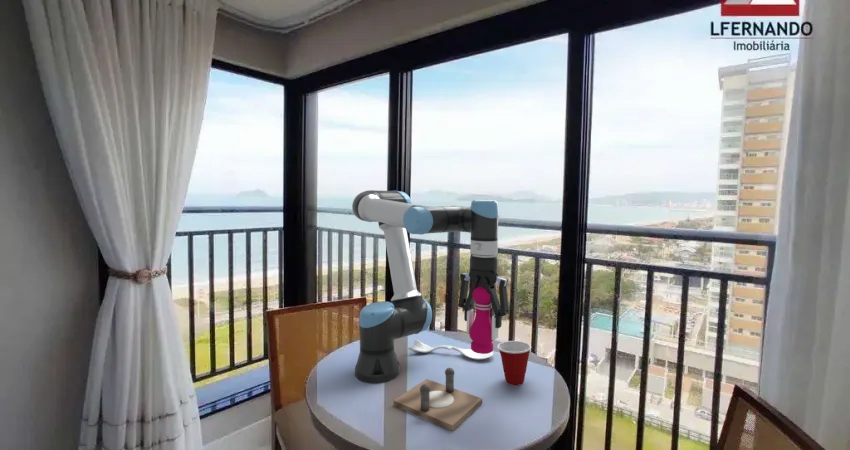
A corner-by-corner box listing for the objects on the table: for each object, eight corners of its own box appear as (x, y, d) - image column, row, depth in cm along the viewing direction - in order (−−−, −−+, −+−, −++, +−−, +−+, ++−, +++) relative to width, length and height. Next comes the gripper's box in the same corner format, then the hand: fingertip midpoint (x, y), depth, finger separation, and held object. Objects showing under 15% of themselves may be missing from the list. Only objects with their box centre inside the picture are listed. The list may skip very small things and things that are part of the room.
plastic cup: (506, 370, 125) (506, 336, 125) (536, 379, 118) (536, 343, 118) (490, 382, 117) (490, 346, 116) (522, 393, 110) (522, 354, 109)
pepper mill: (495, 355, 98) (496, 283, 97) (468, 353, 100) (469, 282, 98) (494, 345, 106) (496, 277, 104) (469, 343, 107) (471, 276, 105)
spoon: (414, 346, 148) (414, 338, 147) (494, 354, 139) (494, 346, 139) (407, 355, 139) (407, 346, 139) (492, 364, 130) (492, 355, 130)
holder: (393, 405, 104) (393, 376, 103) (426, 383, 116) (426, 357, 116) (452, 431, 92) (452, 398, 91) (482, 403, 104) (482, 375, 104)
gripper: (446, 253, 103) (445, 331, 105) (513, 260, 92) (510, 348, 94) (459, 250, 110) (458, 324, 111) (523, 257, 98) (521, 339, 100)
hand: (482, 335), depth 102 cm, fingers closed on pepper mill, 7 cm apart
